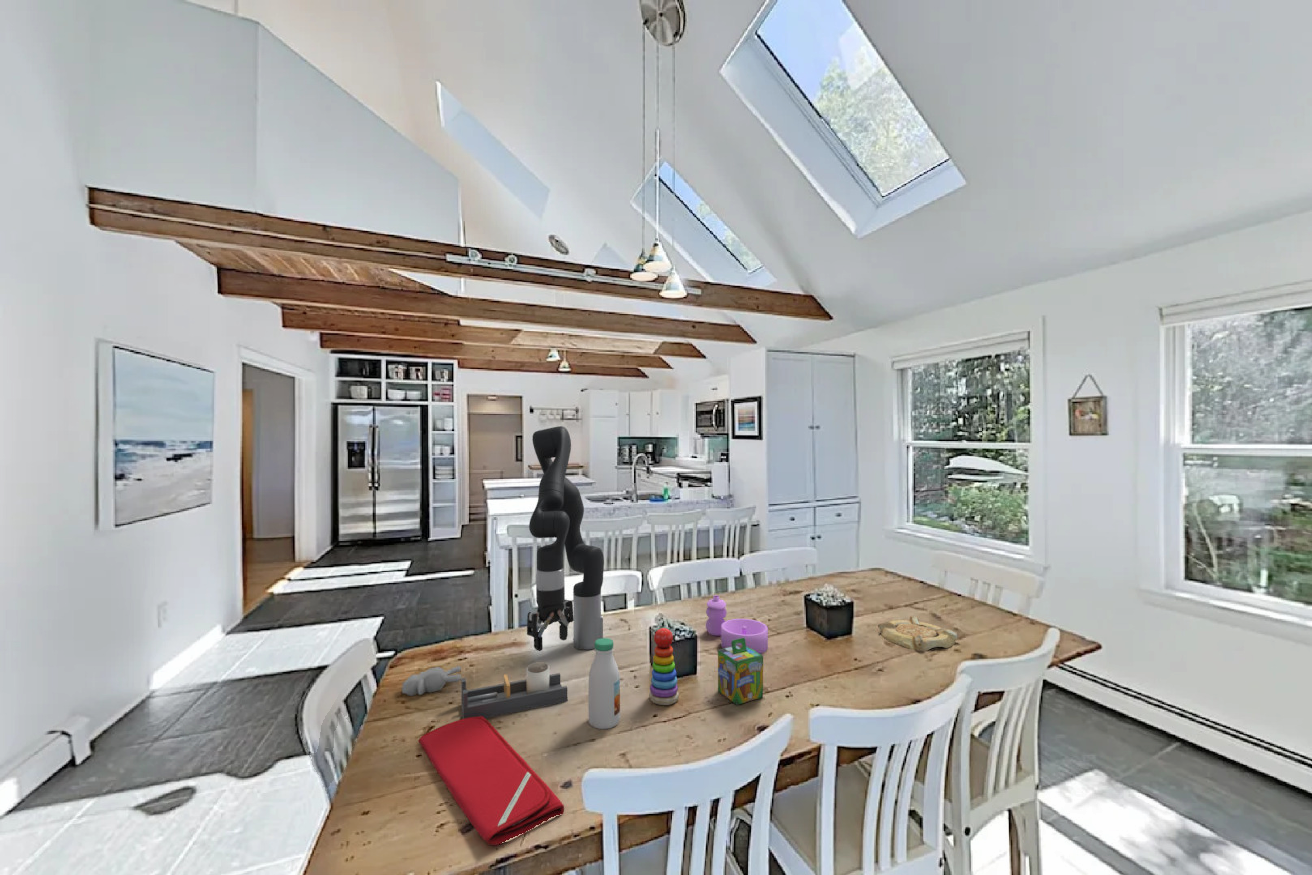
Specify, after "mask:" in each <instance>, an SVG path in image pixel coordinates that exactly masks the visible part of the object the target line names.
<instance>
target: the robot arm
mask: <svg viewBox="0 0 1312 875" xmlns="http://www.w3.org/2000/svg"><path fill="white" fill-rule="evenodd" d="M571 441H572V440H571V436H570V433H569V431H568V429H567V428H566V427H565V426H563V425H562V426H561V425H560V426H559V425H558V426H554V427H550V428H545V429H539V430H537V431H534V432H533V434H532V445H533V449H534V452H535V455H536V457H537V460H538V463H539V465H540V468H541V470H542V473H543V474H542V476H541V479H540V481H539V485H538V496H537V503H536V505H535V508H534V510H533V512H532V514H531V516H530V519H529V525H528V528H529V532H530V534H531V535H532V537H534V538H537V539H549V538H550V539H551V538H552V539H553V538H556V539H555V541H554V542H553V543H551V544H548V545H547V544H546V545H543V546H541V547H539V548H537V550H536V576H535V578H536V579H535V587H536V588H535V590H536V591H535V592H536V595H535V597H536V604H537V610H536V611H535V612H534V611H533V612H531V611H529V612H528V613H527V615H526V616H527V617H526V618H527V619H526V622H527V625H526V635H527V636H530V637H532V638H533V648H534V649H535V650H536V651H539V652H541V651H543V633H544V631H545V630H547V628H548V626H549V625H551V624H553V623H557V622H558V624H559V626H558V629H559V631H558V632H559V640H561V641H567V637H568V635H569V634H568V626H569V624H570V623H572V624H573V629H572V630H573V632H572V633H573V647H574V648H576V649H579V650H592V649H593V650H595V641H596V640H598V639H601V638H604V616H603V615H602V587H603V583H604V569H605V568H604V566H605V565H604V564H605V556H604V552H603V550H602V548H600V547H598V546H593V545H588V544H585V542H584V540H583V536H582V533H581V524H582V521H583V518H584V512H585V507H584V503H583V499H582V496H581V492H580V490H579V488H578V487H577V486H576V485H575V484H574V483H573V482H572V481H571V480H570V479H569V478H567V477H566V474H567V469H568V466H569V461H570V456H571V450H572V442H571ZM553 458H554V459H553ZM564 550H565V554H566V555H565V556H566V558H567V564H568V566H569V567H570V568H571V570H573V571H575V572H577V573H580V574H583V576H582V581H580V582H577V583H575V584H574V586H573V588H572V590H573V592H572V597H573V598H572V600H573V601H571V600H569V599H565V598H566V597H565V592H566V590H565V582H566V581H565V572H564Z"/></svg>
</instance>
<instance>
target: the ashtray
mask: <svg viewBox="0 0 1312 875" xmlns="http://www.w3.org/2000/svg"><path fill="white" fill-rule="evenodd" d="M877 627H878V628H879V632H880V634H881V635H880V636H881V637H882V638H883V639H884V640H886V641H888V642H890V643H893V644H895V645H899V646H902V647H903V648H905V649H909V650H913V651H917V652H925V651H928V650H930V649H933V648H937V647H939V648H941V647H942V648H945V649H949V648H951V647H952V646H954V645H955V644H956V641H957V639H958V633H957V631H954V630H952V629H950V628H947V627H940V626H938V625H934V624H932V623H927V622H924V621H920V620H919V618H918V617H917V616H915V615H911V616H910V617H909V620H907V619H904V620H903V619H902V620H901V619H898V620H892V621H886V622H883V623H879V624H877Z"/></svg>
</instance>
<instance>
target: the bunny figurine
mask: <svg viewBox="0 0 1312 875" xmlns="http://www.w3.org/2000/svg"><path fill="white" fill-rule="evenodd" d="M461 670H462V668H461V666H460V665H459V666H458V665H457V666H454V667H453V668H450V669H448V670H446V671H445V670H444V669H443V668H441V666H435V667H432V668H429V669H427V670H426V671H421V672H420V673H419V674H411V675H410V676H409V677H408V678H407V679H406V680H405V681H403V682H402V685H401V692H402V694H405V695H407V696H411V697H412V696H416V695H421V696H422V695H423V694H424V693H434V692H437V691H438V692H439V691H441V690H442V688H443V687H444V686H445V685H446V683H458V682H460V681H461V679H462V675H461V674H459V673H458V672H460V671H461ZM456 673H458V674H456Z"/></svg>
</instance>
